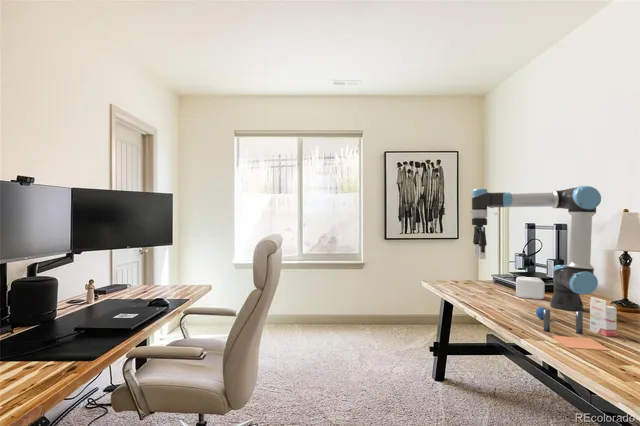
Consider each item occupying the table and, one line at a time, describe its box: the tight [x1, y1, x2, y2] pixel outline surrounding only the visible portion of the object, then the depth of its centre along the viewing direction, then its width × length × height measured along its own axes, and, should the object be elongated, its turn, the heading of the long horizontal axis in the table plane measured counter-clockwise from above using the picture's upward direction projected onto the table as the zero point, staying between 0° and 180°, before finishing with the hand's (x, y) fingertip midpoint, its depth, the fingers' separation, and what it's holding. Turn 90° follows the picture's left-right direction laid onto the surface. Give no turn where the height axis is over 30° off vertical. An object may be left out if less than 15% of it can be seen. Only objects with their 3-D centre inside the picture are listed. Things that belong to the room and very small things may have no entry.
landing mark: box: [551, 335, 611, 352], centre depth 143 cm, size 14×14×1 cm
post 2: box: [575, 310, 584, 335], centre depth 156 cm, size 2×2×9 cm
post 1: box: [543, 308, 551, 333], centre depth 158 cm, size 2×2×9 cm
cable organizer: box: [515, 276, 545, 300], centre depth 228 cm, size 15×11×12 cm
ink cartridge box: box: [589, 296, 618, 337], centre depth 156 cm, size 9×5×15 cm, turn 5°
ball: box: [535, 306, 547, 320], centre depth 178 cm, size 6×6×6 cm
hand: (479, 257), depth 198 cm, fingers open, 13 cm apart
